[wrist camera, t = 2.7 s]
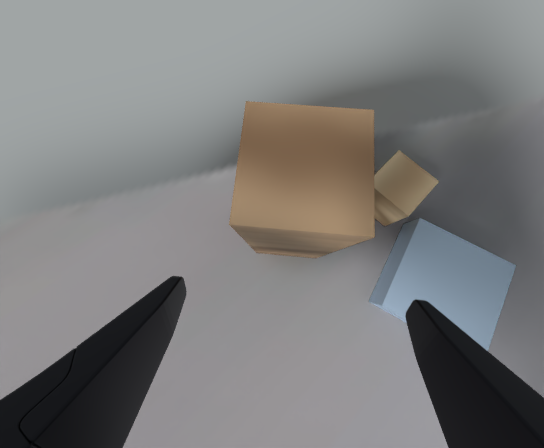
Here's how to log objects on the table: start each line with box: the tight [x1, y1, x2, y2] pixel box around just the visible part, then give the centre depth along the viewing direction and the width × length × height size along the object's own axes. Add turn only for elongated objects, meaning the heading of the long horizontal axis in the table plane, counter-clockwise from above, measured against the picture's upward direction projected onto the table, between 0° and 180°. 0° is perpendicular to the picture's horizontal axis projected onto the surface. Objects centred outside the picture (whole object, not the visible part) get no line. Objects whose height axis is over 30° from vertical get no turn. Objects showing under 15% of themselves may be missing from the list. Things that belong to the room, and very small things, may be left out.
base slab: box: [369, 218, 516, 351], centre depth 19 cm, size 8×8×2 cm
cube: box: [374, 151, 439, 226], centre depth 20 cm, size 4×4×4 cm
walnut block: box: [229, 101, 375, 258], centre depth 15 cm, size 6×6×12 cm
